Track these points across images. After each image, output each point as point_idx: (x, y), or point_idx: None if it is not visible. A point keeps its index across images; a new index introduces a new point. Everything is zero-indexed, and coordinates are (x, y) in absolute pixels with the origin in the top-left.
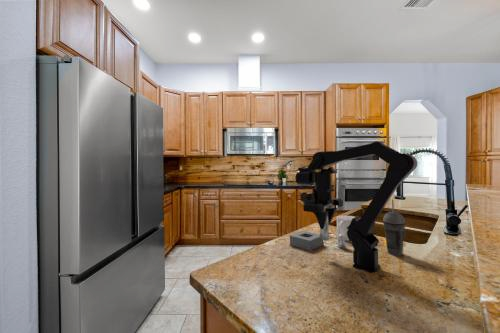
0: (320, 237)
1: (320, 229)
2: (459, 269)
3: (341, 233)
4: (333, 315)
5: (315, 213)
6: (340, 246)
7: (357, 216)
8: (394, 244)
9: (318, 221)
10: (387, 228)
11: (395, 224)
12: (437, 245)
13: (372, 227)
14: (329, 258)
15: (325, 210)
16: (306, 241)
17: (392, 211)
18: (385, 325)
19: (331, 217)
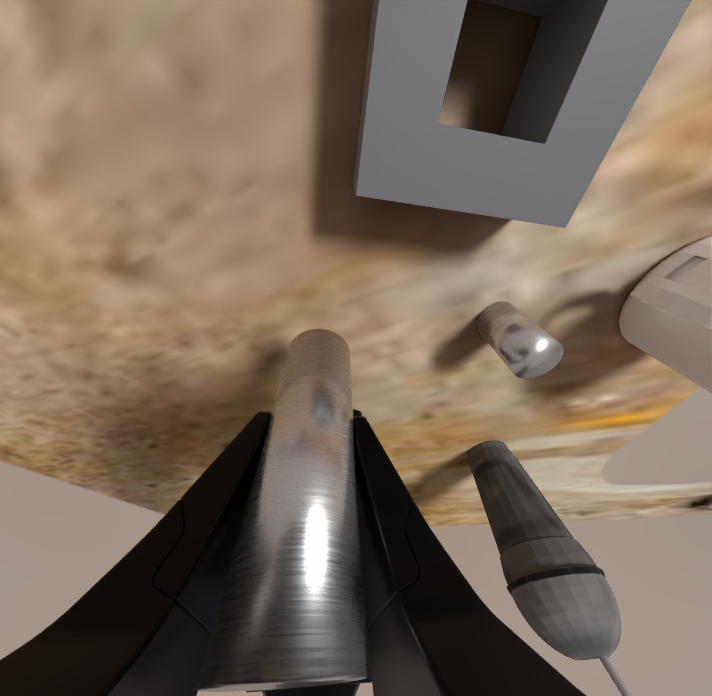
0: (294, 343)
1: (281, 392)
2: (430, 518)
3: (684, 295)
4: (9, 442)
5: (28, 674)
6: (482, 325)
7: (331, 684)
8: (479, 491)
9: (199, 484)
10: (515, 548)
11: (508, 590)
12: (590, 494)
13: None
14: (313, 325)
15: (406, 687)
16: (361, 146)
17: (604, 658)
18: (100, 490)
19: (362, 569)
